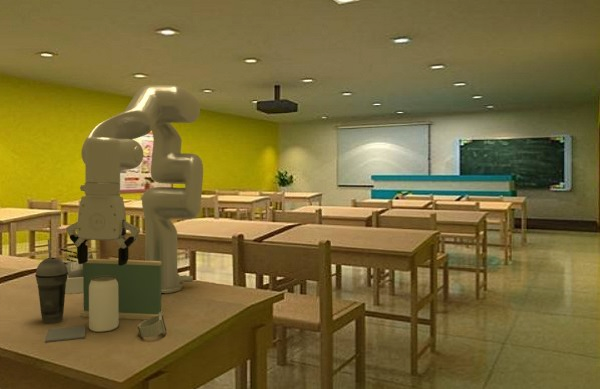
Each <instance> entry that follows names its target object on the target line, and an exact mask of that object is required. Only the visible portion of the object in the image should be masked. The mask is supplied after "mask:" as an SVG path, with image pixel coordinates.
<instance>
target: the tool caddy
mask: <svg viewBox="0 0 600 389" xmlns="http://www.w3.org/2000/svg"><path fill="white" fill-rule="evenodd" d="M72 261H73V262H74V260H72ZM72 261H71V260H70V261H68V260H66V261H64V262H65V263H72ZM65 265H66V264H65ZM66 266H67V265H66ZM67 276H68V274H67ZM70 293H72V294H81V293H83V294H84V291H83V277H77V278H68V277H67V281H66V288H65V295H68V294H69V295H71V294H70Z"/></svg>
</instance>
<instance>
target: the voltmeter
mask: <svg viewBox="0 0 600 389" xmlns="http://www.w3.org/2000/svg"><path fill="white" fill-rule="evenodd" d="M60 251H63V252H66V253H67V252H68V253H71V254H68V257H70V258H74V259H77V251H73V250H70V249H69V250H67V249H64V248H60ZM72 254H74V255H72ZM75 254H76V255H75ZM70 258H66V261H72V263H65V261H63V262H64V263H65V264H66V265H67V266H66V267H67V271H68V275H67V278H77V277H83V264H78V260H73V259H70ZM88 259H94V258H93V253H92V252H90V253H89V252H88ZM73 261H74V262H73Z"/></svg>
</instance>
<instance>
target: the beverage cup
mask: <svg viewBox="0 0 600 389" xmlns="http://www.w3.org/2000/svg"><path fill="white" fill-rule="evenodd" d="M51 250H52V249H51V240H50V238H49V239H47V251H48V257H47V258H45V259H43V260H41V262H40V263H39V264H38V266H37V267H36V270H35V278H36V279H35V280H36V284H37V290H38V298H39V308H40V315H41V316H40V317H41V321H42V323H44V324H56V323H60V322H62V321H63V319H64V318H63V317H64V314H65V313H64V311H65V298H66V294H65V288H66V281H67V278H68V275H67V274H68V271H67V267H66V265H65V263H64V262H65V261H63V260H62V259H60V258H58V257H52V251H51Z"/></svg>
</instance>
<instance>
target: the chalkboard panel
mask: <svg viewBox="0 0 600 389" xmlns="http://www.w3.org/2000/svg"><path fill="white" fill-rule="evenodd" d="M161 264H162V261H145V260H143V259H141V260H137V259H134V260H133V259H128V261H127V264H124V265H122V266H120V265H118V259H109V258H108V259H107V258H106V259H105V258H93V259H88V261H87V262H86V263H83V291H84V293H83V311H81V312H80V317H85V318H89V284H90V282H91V278H93V277H96V276H104V275H111V276H116V280H117V282H118V319H124V320H125V319H128V320H129V319H130V320H146V319H149V318H152V317H155V316H158V314H159V312H161V314H163V315H164V311H162V294H161Z"/></svg>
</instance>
